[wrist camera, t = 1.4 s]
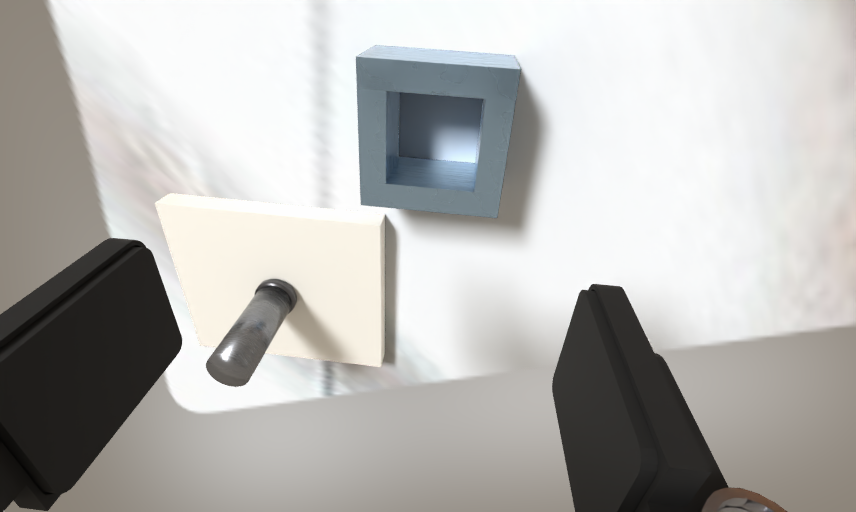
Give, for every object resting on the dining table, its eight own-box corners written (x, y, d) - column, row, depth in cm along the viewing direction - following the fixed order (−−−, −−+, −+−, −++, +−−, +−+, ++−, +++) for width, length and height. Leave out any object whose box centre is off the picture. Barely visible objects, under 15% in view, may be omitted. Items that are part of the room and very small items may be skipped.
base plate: (384, 214, 27) (380, 225, 26) (384, 352, 33) (381, 367, 32) (169, 193, 28) (154, 203, 26) (210, 332, 34) (200, 345, 33)
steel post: (296, 279, 28) (248, 356, 23) (300, 310, 30) (256, 391, 24) (256, 274, 29) (198, 350, 23) (262, 306, 30) (209, 385, 24)
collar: (514, 55, 21) (521, 69, 18) (495, 186, 25) (497, 218, 22) (375, 45, 22) (355, 56, 18) (376, 175, 26) (360, 205, 22)
